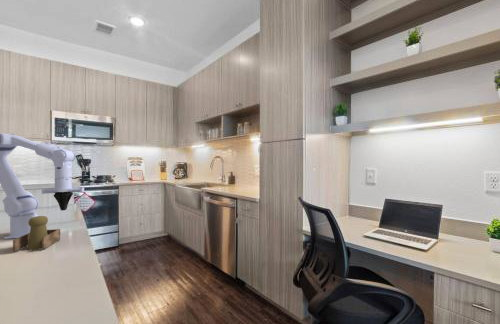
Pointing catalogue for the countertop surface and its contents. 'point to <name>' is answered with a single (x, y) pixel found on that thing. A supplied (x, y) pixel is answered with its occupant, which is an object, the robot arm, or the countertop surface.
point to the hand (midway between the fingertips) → (63, 209)
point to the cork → (37, 232)
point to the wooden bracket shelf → (46, 241)
